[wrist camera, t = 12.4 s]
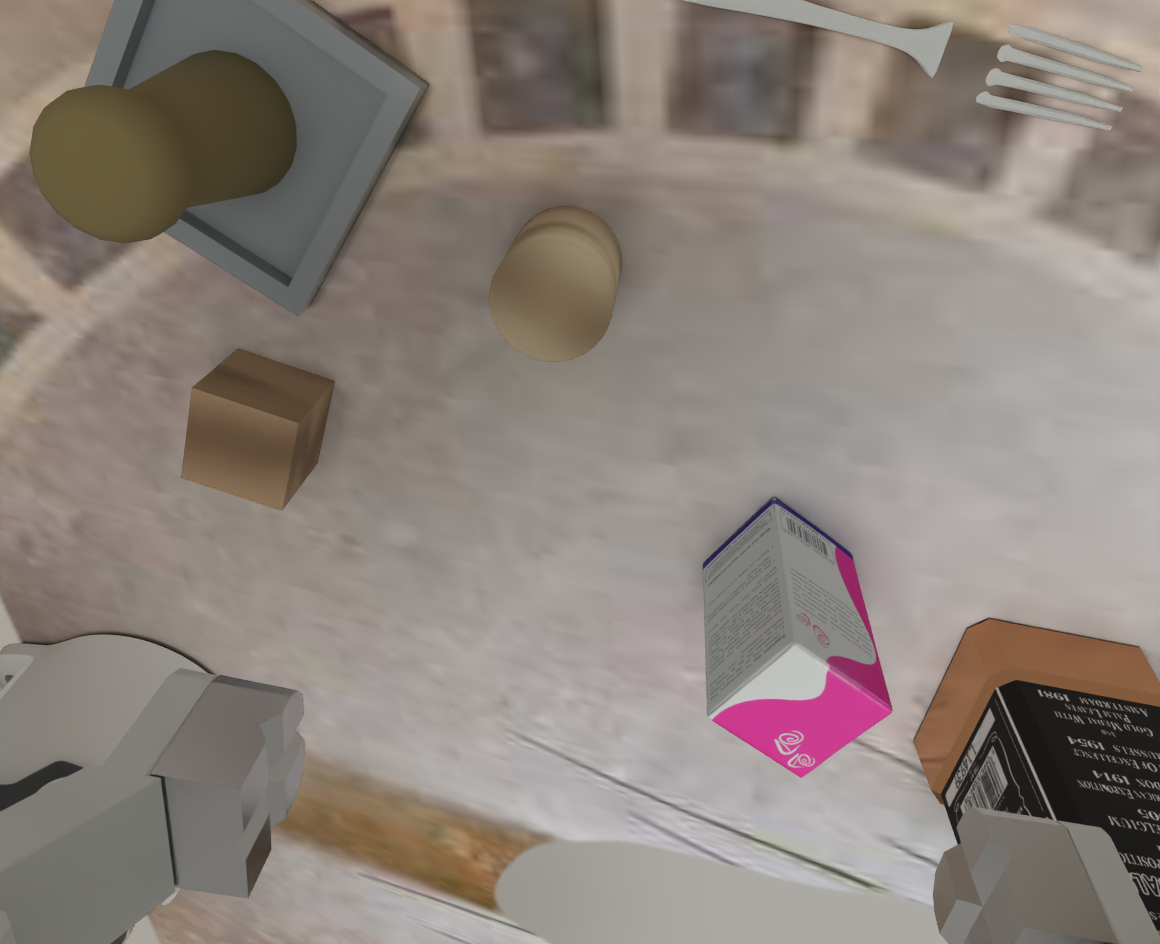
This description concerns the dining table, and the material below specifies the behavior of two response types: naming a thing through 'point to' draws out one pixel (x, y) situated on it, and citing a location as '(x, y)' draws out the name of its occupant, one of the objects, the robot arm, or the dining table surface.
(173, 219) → the olive hourglass shape
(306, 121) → the slate dish
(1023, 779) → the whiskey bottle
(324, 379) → the walnut block
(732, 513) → the dining table surface
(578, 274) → the cork cylinder
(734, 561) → the supplement box
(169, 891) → the robot arm
